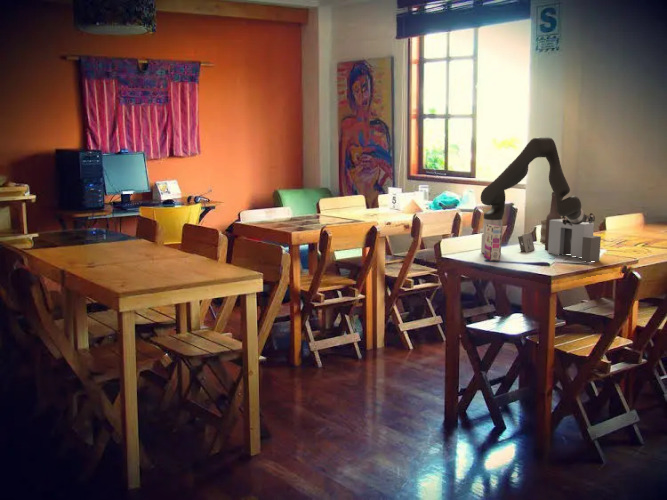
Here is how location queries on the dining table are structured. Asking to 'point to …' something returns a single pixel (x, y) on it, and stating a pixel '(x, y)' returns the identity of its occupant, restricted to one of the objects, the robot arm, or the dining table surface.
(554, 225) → the socket
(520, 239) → the electrical switch
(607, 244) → the dining table surface
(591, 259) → the plug
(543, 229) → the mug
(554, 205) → the beer bottle
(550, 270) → the dining table surface
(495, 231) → the candy bar box
